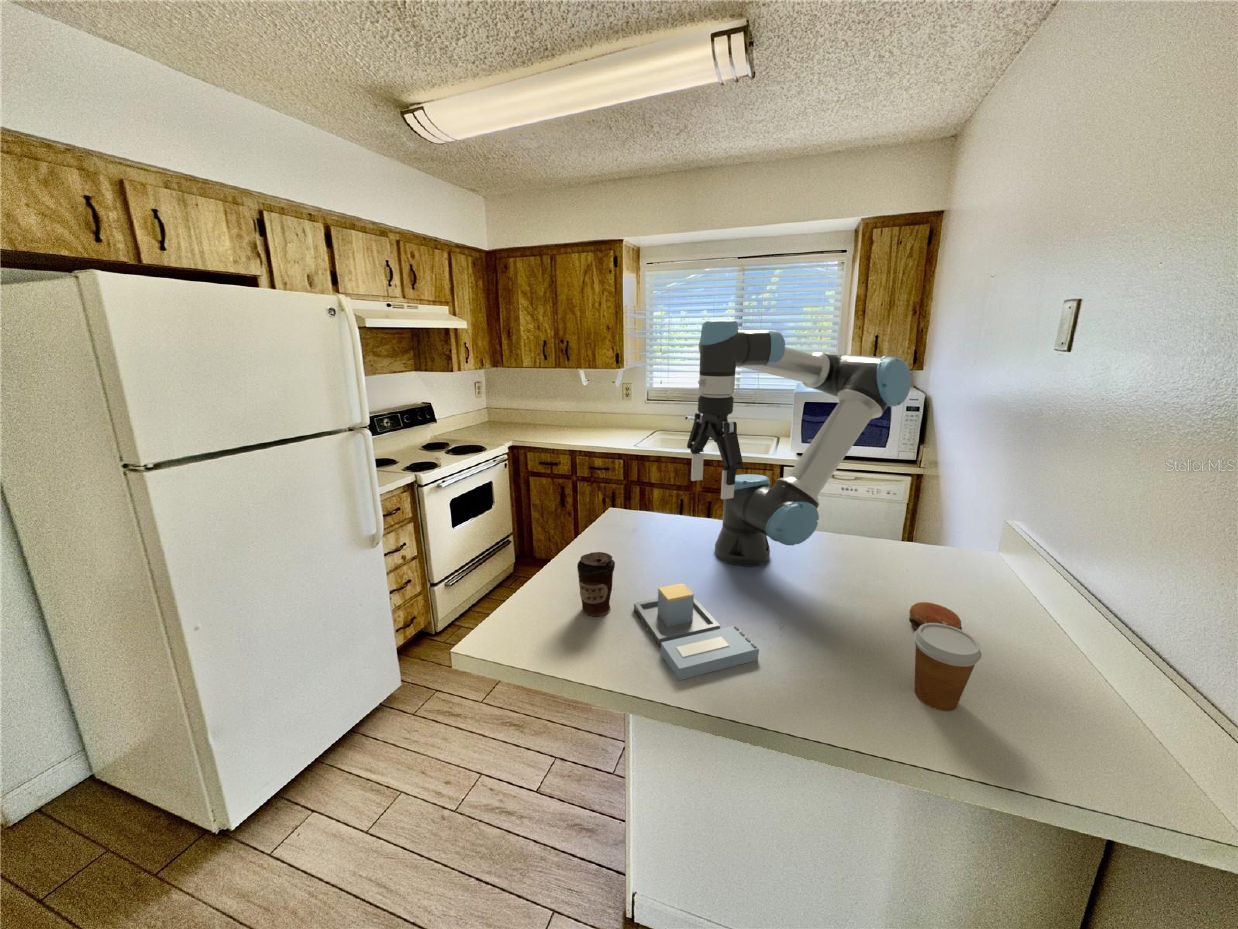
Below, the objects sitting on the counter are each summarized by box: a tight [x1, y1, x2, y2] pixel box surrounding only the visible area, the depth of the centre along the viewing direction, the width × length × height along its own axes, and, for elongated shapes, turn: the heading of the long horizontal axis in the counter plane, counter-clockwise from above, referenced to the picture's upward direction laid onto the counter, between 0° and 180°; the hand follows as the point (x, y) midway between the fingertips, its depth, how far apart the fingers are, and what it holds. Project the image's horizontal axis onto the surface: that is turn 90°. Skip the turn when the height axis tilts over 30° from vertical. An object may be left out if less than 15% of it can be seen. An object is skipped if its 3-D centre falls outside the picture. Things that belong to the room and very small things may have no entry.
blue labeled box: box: [660, 625, 760, 681], centre depth 94 cm, size 17×8×3 cm, turn 109°
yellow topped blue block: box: [657, 582, 695, 627], centre depth 105 cm, size 6×5×7 cm
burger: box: [908, 601, 963, 631], centre depth 102 cm, size 10×9×5 cm
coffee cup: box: [576, 551, 616, 617], centre depth 108 cm, size 9×8×13 cm
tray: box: [633, 597, 721, 648], centre depth 105 cm, size 14×14×2 cm
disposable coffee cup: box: [913, 623, 983, 712], centre depth 82 cm, size 10×10×12 cm
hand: (711, 488), depth 109 cm, fingers open, 13 cm apart
